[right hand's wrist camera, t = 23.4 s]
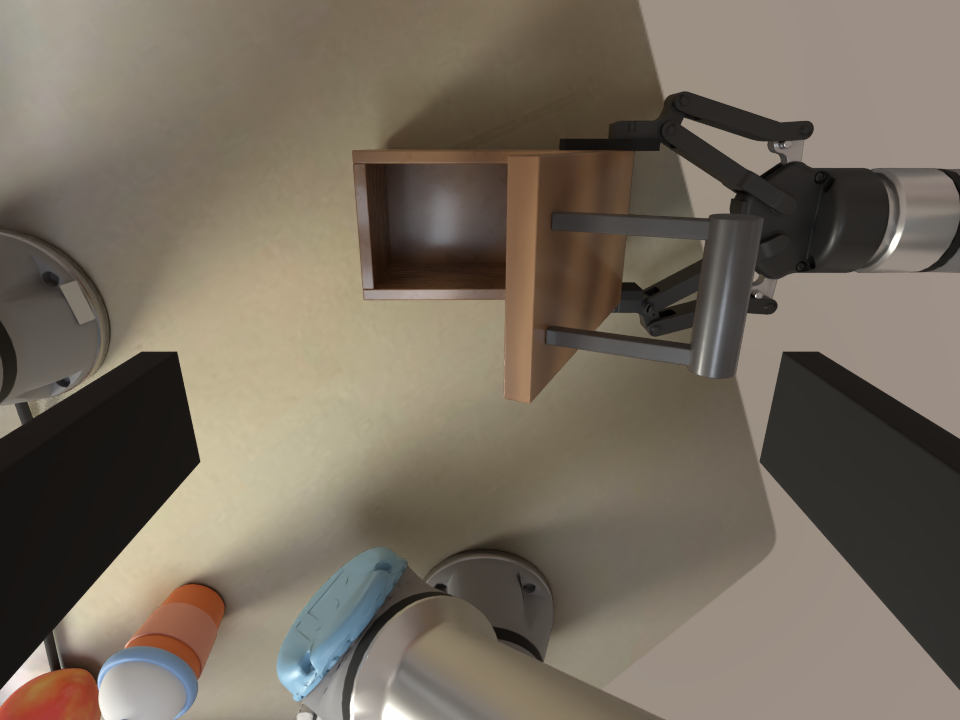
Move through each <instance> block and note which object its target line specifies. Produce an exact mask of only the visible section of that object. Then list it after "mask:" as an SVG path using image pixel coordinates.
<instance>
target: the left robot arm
mask: <svg viewBox="0 0 960 720" xmlns="http://www.w3.org/2000/svg"><path fill="white" fill-rule="evenodd" d="M683 118H687V119H691V120H694V121H697V122H700V123H703V124H706V125H709V126H712V127H715V128H718V129H721V130H724V131H727V132H730V133H733V134H736V135H740V136H743V137H746V138H749V139H752V140H756V141H768V144H767V145H768V149H769V150H770V151H771V152H772V153H776V154H778V155H779V156H780V158H781V163H779V164H777V165H776V166H774V167H773V168H771V169H770V170H768V171H767V172H765V173H764V174H762V175H761V176H759V175H757V174H755V173H754V172H752V171H749V170H747V169H745V168H744V167H742V166H741V165H739V164H738V163H736V162H735V161H733V160H732V159H730V158H729V157H727V156H726V155H724V154H723V153H721V152H720V151H718V150H717V149H715V148H714V147H712V146H711V145H710V144H708V143H707V142H705V141H704V140H702V139H701V138H699V137H697V136H696V135H694V134H693V133H692V132H690V131H689V130H687V129H686V128H684V127H683V126H681V122H682V120H683ZM813 130H814V126H813V124H812V123H811V122H810V121H797V122H782V123H780V122H777V121H774V120H771V119H768V118H765V117H762V116H759V115H756V114H753V113H750V112H747V111H744V110H741V109H738V108H735V107H732V106H729V105H726V104H723V103H720V102H717V101H714V100H711V99H708V98H705V97H702V96H699V95H696V94H693V93H690V92H680V93H676V94H672V95H669V96H668V97H667V98H666V100H665V102H664V108H663V110H662V113H661V114H660V116H659V117H658V118H657V119H656V120H654V121H617V122H615V123H612V124H610V125H609V137H608V139H560V149H559V150H619V151H659V149H660V142H661V143H662V144H664V145H665V146H667V147H668V148H670V149H671V150H673V151H674V152H676V153H677V154H679V155H680V156H682V157H684V158H685V159H687V160H688V161H690V162H691V163H693V164H694V165H696V166H697V167H699V168H700V169H702V170H703V171H705V172H706V173H708V174H709V175H711V176H712V177H714V178H715V179H717V180H719V181H720V182H721V183H722V184H723V185H724V186H726V187H727V188H729V189H730V190H732V191H733V192H735V193H736V196H735V198H734V199H731V204H730V214H745V215H754V216H760V217H763V218H764V222H763V227H762V233H761V238H760V244H759V249H758V255H757V260H756V266H755V271H756V272H757V273H758V274H759V278H758V279H757V280H756V281H755V282H753V283H752V288H751V293H750V299H749V304H748V310H747V313H753V314H767V315H768V314H772V313H774V312H775V311H776V309H777V302H776V301H775V300H773V299H772V298H773V294H774V290H775V287H776V283H777V279H780V278H782V277H784V276H786V275H788V274H791V273H848V272H852V271H855V272H858V273H882V272H883V273H884V272H952V273H960V169H935V168H877V169H872V170H869V169H866V168H811V167H809V166H807V165H806V164H804V163H803V162H801V159H802V152H803V145H804V140H805V139H807V138H809V137H810V136H811V135H812V133H813ZM702 260H703V259H701V260H700V261H698V262H696V263H694V264H692V265H690V266H688V267H686V268H684V269H682V270H680V271H679V272H677V273H675V274H673V275H671V276H669V277H667V278H665V279H663V280H661V281H660V282H658V283H656V284H654V285H652V286H650V287H648V288H646V289H644V290H642V289H641V288H640V287H639V286H638V285H637V284H636V283H635V282H622V287H621V298H620V303H619V304H618V305H617V307H616V308H615V309H614V310H613V311H612V312H611V313H639V316H640V323H641V325H642V326H643V327H644V328H645V329H646V331H647V332H648V333H649V334H650V335H651V336H654V337H655V336H660V335H664V334H668V333H672V332H676V331H680V330H683V329H687V328H691V327H693V322H694V315H695V308H696V301H697V300H694V301H690V302H686V303H683V304H679V305H675V306H671V307H668V308H665V307H667V306H669V305H671V304H673V303H675V302H677V301H679V300H681V299H683V298H685V297H687V296H688V295H690V294H692V293H694V292H696V291H698V288H699V281H700V274H701V267H702ZM663 308H664V309H663ZM407 564H408V563H407V560H406V559H404V558H400V557H399V556H398V555H397V554H396V553H394V552H393V551H392V550H391V549H389V548H386V547H375V548H371V549H369V550H366V551H364V552H362V553H360V554H359V555H357V556H356V557H354V558H353V559H351V560H350V561H349V562H348V563H347V564H345V565H344V566H343V567H341V568H340V569H339V570H338V571H337V572H336V573H335V574H334V575H332V576H331V578H330V579H329V580H328V581H327V582H326V583H325V584H324V585H323V586H322V587H321V588H320V589H319V590H318V591H317V592H316V594H315V595H314V596H313V597H312V598H311V600H310V601H309V602H308V603H307V605H306V606H305V607H304V609H303V610H302V611H301V613H300V614H299V616H298V617H297V619H296V620H295V622H294V623H293V625H292V627H291V628H290V630H289V632H288V634H287V636H286V637H285V639H284V642H283V644H282V646H281V649H280V652H279V655H278V660H277V674H278V677H279V679H280V681H281V683H282V684H283V685H284V686H285V687H286V688H287V689H288V690H289V691H290V692H291V693H292V694H293V699H294V700H295V701H297V702H299V701H302V702H303V703H304V704H305V705H306V706H307V707H309V708H310V709H311V710H312V711H313V712H314V713H316V714H317V715H318V716H319V717H320V718H321V719H322V720H665V719H663V718H660V717H658V716H656V715H654V714H652V713H650V712H648V711H646V710H643V709H641V708H639V707H637V706H635V705H633V704H631V703H628V702H626V701H624V700H622V699H620V698H618V697H616V696H613V695H611V694H609V693H607V692H605V691H603V690H601V689H599V688H596V687H594V686H592V685H590V684H588V683H586V682H584V681H581V680H579V679H577V678H575V677H573V676H571V675H569V674H566V673H564V672H562V671H560V670H558V669H556V668H554V667H552V666H549V665H547V664H545V663H543V662H544V658H545V654H546V650H547V646H548V642H549V638H550V634H551V630H552V625H553V601H552V594H551V590H550V588H549V585H548V583H547V581H546V579H545V578H544V576H543V575H542V574H541V573H540V572H539V570H537V569H536V568H535V567H534V566H533V565H531V564H530V563H529V562H527V561H525V560H524V559H522V558H520V557H518V556H515V555H512V554H509V553H506V552H501V551H494V550H475V551H469V552H464V553H460V554H457V555H454V556H452V557H450V558H448V559H446V560H444V561H442V562H441V563H439V564H438V565H437V566H435V567H434V568H433V569H432V570H431V571H430V572H429V573H428V574H427V576H426V577H425V578H424V580H422V579H421V578H419V577H418V576H417V575H416V574H415V573H414V572H413V571H412V570H411V568H410V567H409V566H408V565H407Z"/></svg>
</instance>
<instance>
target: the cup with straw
mask: <svg viewBox="0 0 960 720" xmlns="http://www.w3.org/2000/svg"><path fill="white" fill-rule="evenodd" d="M224 611H225V607H224V603H223V601H222V599H221V597H220V596H219V595H218V594H217V593H216V592H214V591H213V590H211V589H210V588H208V587H205V586H202V585H196V584H189V585H184V586H181V587H179V588H177V589H176V590H174V591H173V592H172V594H171V595H170V596H169V597H168V598H167V599H166V600H165V602H164V603H163V604H162V605H161V606H160V607H159V608H157V609H156V610H155V611H154V612H153V613H152V614H151V615H150V617H149V618H148V619H147V620H146V621H145V623H144V624H143V625H142V626H141V627H140V628H139V630H138V631H137V632H136V633H135V634H134V635H133V637H132V638H131V639H130V640H129V641H128V643H127V644H126V645H125V647H124V649H123V650H120V651H118V652H116V653H115V654H113V655H112V656H111V657H110V658H109V659H108V660H107V661H106V662H105V663H104V665H103V666H102V668H101V670H100V673H99V676H98V689H99V706H100V710H101V713H102V715H103V717H104V718H105V720H174V719H176V718H178V717H180V716H182V715H183V714H184V713H185V712H187V711H188V710H189V708H190V707H191V706H192V704H193V703H194V701H195V699H196V696H197V693H198V681H197V680H198V679H199V677H200V675H201V673H202V671H203V669H204V666H205V664H206V661H207V659H208V656H209V654H210V652H211V649H212V647H213V644H214V642H215V639H216V636H217V630H218V628H219V625H220V623H221V620H222V618H223V615H224Z"/></svg>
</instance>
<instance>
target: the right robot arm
mask: <svg viewBox="0 0 960 720" xmlns="http://www.w3.org/2000/svg"><path fill="white" fill-rule="evenodd" d="M109 336H110V334H109V322H108V317H107V313H106V310H105V307H104V304H103V302H102V299H101V297H100V295H99V293H98V291H97V290H96V288H95V286H94V285H93V283H92V282H91V280H90V279H89V278H88V276H87V275H86V274H85V273H84V272H83V271H82V269H81V268H80V267H79V266H78V265H77V264H76V263H75V262H74V261H72V260H71V259H70V258H69V257H68V256H66V255H65V254H64V253H63V252H61V251H60V250H58V249H57V248H55V247H54V246H52V245H50V244H48V243H47V242H45V241H43V240H40V239H38V238H36V237H33V236H31V235H28V234H24V233H21V232H17V231H12V230H4V229H0V406H3V405H9V404H15V406H16V409H17V412H18V415H19V417H20V420H21V423H22V426H20V427H19V428H17V429H16V430H14V431H12V432H11V433H9V434H7V435H6V436H4V437H3V438H1V439H0V690H1V689H2V687H3V686H4V685H5V684H6V683H7V682H8V681H9V679H10V678H11V677H12V676H13V675H14V674H15V673H16V671H17V670H18V669H19V668H20V667H21V666H22V665H23V663H24V662H25V661H26V660H27V659H28V658H29V657H30V655H31V654H32V653H33V652H34V651H35V650H36V649H37V647H38V646H39V645H40V644H41V643H42V642H43V641H44V644H45V648H46V652H47V657H48V661H49V665H50V669H51V672H52V671H56V670H60V669H61V667H60V663H59V658H58V654H57V650H56V645H55V640H54V636H53V631H52V630H53V629H54V628H55V627H56V626H57V625H58V624H59V622H60V621H61V620H62V619H63V618H64V617H65V616H66V614H67V613H68V612H69V611H70V610H71V609H72V608H73V606H74V605H75V604H76V603H77V602H78V601H79V600H80V598H81V597H82V596H83V595H84V594H85V593H86V592H87V590H88V589H89V588H90V587H91V586H92V585H93V584H94V582H95V581H96V580H97V579H98V578H99V577H100V576H101V575H102V573H103V572H104V571H105V570H106V569H107V568H108V567H109V565H110V564H111V563H112V562H113V561H114V560H115V559H116V557H117V556H118V555H119V554H120V553H121V552H122V551H123V549H124V548H125V547H126V546H127V545H128V544H129V543H130V541H131V540H132V539H133V538H134V537H135V536H136V535H137V533H138V532H139V531H140V530H141V529H142V528H143V527H144V526H145V524H146V523H147V522H148V521H149V520H150V519H151V518H152V516H153V515H154V514H155V513H156V512H157V511H158V510H159V508H160V507H161V506H162V505H163V504H164V503H165V502H166V500H167V499H168V498H169V497H170V496H171V495H172V494H173V492H174V491H175V490H176V489H177V488H178V487H179V486H180V484H181V483H182V482H183V481H184V480H185V479H186V478H187V476H188V475H189V474H190V473H191V472H192V471H193V470H194V469H195V467H196V466H197V465H198V464H199V463H200V458H199V453H198V448H197V443H196V439H195V434H194V429H193V425H192V420H191V415H190V410H189V406H188V401H187V396H186V391H185V387H184V382H183V377H182V373H181V368H180V363H179V358H178V354H177V352H140V353H139V354H137V355H136V356H134V357H132V358H131V359H129V360H127V361H126V362H124V363H123V364H121V365H119V366H118V367H116V368H114V369H113V370H111V371H110V372H108V373H106V374H105V375H103V376H101V377H100V378H98V379H97V380H95V381H93V382H92V383H90V384H88V385H87V386H85V387H84V388H82V389H80V390H79V391H77V392H76V393H74V394H72V395H71V396H69V397H67V398H66V399H64V400H63V401H61V402H59V403H58V404H56V405H54V406H53V407H51V408H50V409H48V410H46V411H45V412H43V413H41V414H40V415H38V416H37V417H35V418H33V417H32V414H31V411H30V408H29V405H28V403H27V401H33V400H39V399H45V398H49V397H53V396H56V395H60V394H62V393H65V392H67V391H69V390H71V389H73V388H74V387H76V386H78V385H79V384H81V383H83V382H84V381H86V380H87V379H89V378H90V377H91V376H92V375H93V374H94V373H95V372H96V371H97V370H98V368H99V367H100V365H101V364H102V362H103V360H104V358H105V356H106V353H107V350H108V345H109ZM760 463H761V464H762V465H763V466H764V467H765V468H766V470H767V471H768V472H769V473H770V474H771V475H772V476H773V478H774V479H775V480H776V481H777V482H778V483H779V484H780V486H781V487H782V488H783V489H784V490H785V491H786V492H787V494H788V495H789V496H790V497H791V498H792V499H793V500H794V502H795V503H796V504H797V505H798V506H799V507H800V508H801V510H802V511H803V512H804V513H805V514H806V515H807V516H808V518H809V519H810V520H811V521H812V522H813V523H814V524H815V526H816V527H817V528H818V529H819V530H820V531H821V532H822V533H823V535H824V536H825V537H826V538H827V539H828V540H829V541H830V543H831V544H832V545H833V546H834V547H835V548H836V549H837V551H838V552H839V553H840V554H841V555H842V556H843V557H844V559H845V560H846V561H847V562H848V563H849V564H850V565H851V567H852V568H853V569H854V570H855V571H856V572H857V573H858V574H859V576H860V577H861V578H862V579H863V580H864V581H865V582H866V584H867V585H868V586H869V587H870V588H871V589H872V590H873V591H874V593H875V594H876V595H877V596H878V597H879V598H880V600H881V601H882V602H883V603H884V604H885V605H886V606H887V608H888V609H889V610H890V611H891V612H892V613H893V614H894V616H895V617H896V618H897V619H898V620H899V621H900V622H901V623H902V625H903V626H904V627H905V628H906V629H907V630H908V632H909V633H910V634H911V635H912V636H913V637H914V638H915V639H916V641H917V642H918V643H919V644H920V645H921V646H922V647H923V649H924V650H925V651H926V652H927V653H928V654H929V655H930V657H931V658H932V659H933V660H934V661H935V662H936V663H937V665H938V666H939V667H940V668H941V669H942V670H943V671H944V673H945V674H946V675H947V676H948V677H949V678H950V679H951V681H952V682H953V683H954V684H955V685H956V686H957V687H958V688H959V690H960V439H959V438H957V437H956V436H954V435H953V434H951V433H949V432H948V431H946V430H944V429H943V428H941V427H940V426H938V425H936V424H935V423H933V422H931V421H930V420H928V419H927V418H925V417H923V416H922V415H920V414H919V413H917V412H915V411H914V410H912V409H910V408H909V407H907V406H906V405H904V404H902V403H901V402H899V401H897V400H896V399H894V398H893V397H891V396H889V395H888V394H886V393H884V392H883V391H881V390H880V389H878V388H876V387H875V386H873V385H871V384H870V383H868V382H867V381H865V380H863V379H862V378H860V377H858V376H857V375H855V374H854V373H852V372H850V371H849V370H847V369H845V368H844V367H842V366H841V365H839V364H837V363H836V362H834V361H833V360H831V359H829V358H828V357H826V356H824V355H823V354H821V353H820V352H783V354H782V358H781V363H780V368H779V373H778V377H777V382H776V387H775V391H774V396H773V401H772V406H771V410H770V415H769V420H768V425H767V429H766V434H765V439H764V443H763V448H762V453H761V458H760Z"/></svg>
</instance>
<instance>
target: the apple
mask: <svg viewBox="0 0 960 720" xmlns="http://www.w3.org/2000/svg"><path fill="white" fill-rule="evenodd" d="M100 717H101V710H100V706H99V689H98V685H97V683H96V681H95V679H94V678H93V676H92V675H91V674H90V673H89V672H88V671H86V670H84V669H79V668H69V669H60V670H56V671H52V672H49V673H46V674H43V675H41V676H38V677H36V678H34V679H32V680H30V681H29V682H27V683H26V684H24V685H23V686H21V687H20V688H19V689H17V690H16V691H15V692H14V693H13V694H12V695H11V696H10V697H9V698H8V699H7V700H6V701H5V702H4V703H3V705H2V706H1V707H0V720H100Z"/></svg>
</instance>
